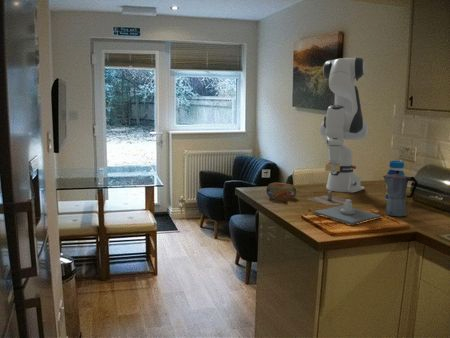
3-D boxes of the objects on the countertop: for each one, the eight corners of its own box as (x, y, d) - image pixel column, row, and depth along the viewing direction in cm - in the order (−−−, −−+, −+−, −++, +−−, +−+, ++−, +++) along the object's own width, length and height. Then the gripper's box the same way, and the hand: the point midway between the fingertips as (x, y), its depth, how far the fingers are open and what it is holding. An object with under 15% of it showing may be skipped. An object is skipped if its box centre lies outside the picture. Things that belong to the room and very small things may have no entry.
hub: (343, 208, 206) (344, 192, 204) (380, 218, 190) (382, 201, 189) (313, 214, 194) (315, 197, 193) (351, 226, 178) (352, 208, 177)
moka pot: (383, 209, 205) (387, 167, 202) (417, 216, 196) (422, 171, 192) (375, 213, 198) (379, 169, 195) (411, 220, 189) (415, 174, 185)
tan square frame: (324, 168, 215) (324, 162, 214) (338, 169, 214) (338, 163, 213) (325, 170, 208) (325, 164, 208) (339, 171, 207) (340, 165, 207)
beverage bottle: (403, 202, 220) (407, 163, 216) (385, 201, 221) (389, 162, 218) (400, 199, 228) (404, 160, 225) (383, 197, 230) (386, 159, 226)
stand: (327, 197, 226) (328, 186, 225) (353, 204, 213) (354, 192, 212) (305, 201, 216) (306, 189, 215) (331, 209, 204) (332, 196, 203)
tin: (265, 198, 222) (266, 181, 221) (268, 196, 225) (268, 180, 223) (294, 202, 215) (295, 185, 214) (296, 200, 218) (297, 184, 217)
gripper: (326, 137, 219) (324, 164, 222) (328, 141, 199) (326, 171, 202) (339, 138, 218) (337, 165, 221) (342, 142, 198) (340, 172, 201)
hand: (332, 168), depth 211 cm, fingers closed on tan square frame, 7 cm apart
